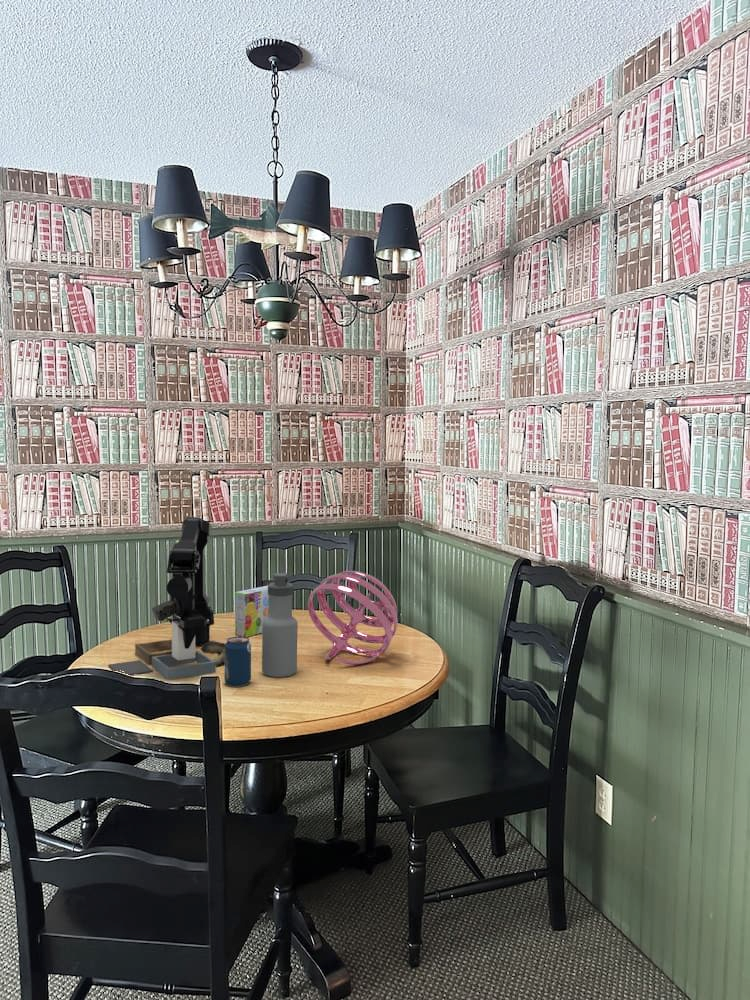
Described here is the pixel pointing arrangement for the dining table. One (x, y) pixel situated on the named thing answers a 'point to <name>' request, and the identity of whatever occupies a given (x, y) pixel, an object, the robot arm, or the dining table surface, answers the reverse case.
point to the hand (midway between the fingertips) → (183, 646)
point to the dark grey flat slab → (131, 667)
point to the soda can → (237, 661)
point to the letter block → (181, 644)
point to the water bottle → (279, 630)
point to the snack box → (251, 610)
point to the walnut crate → (152, 649)
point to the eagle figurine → (215, 650)
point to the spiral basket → (355, 614)
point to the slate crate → (202, 667)
